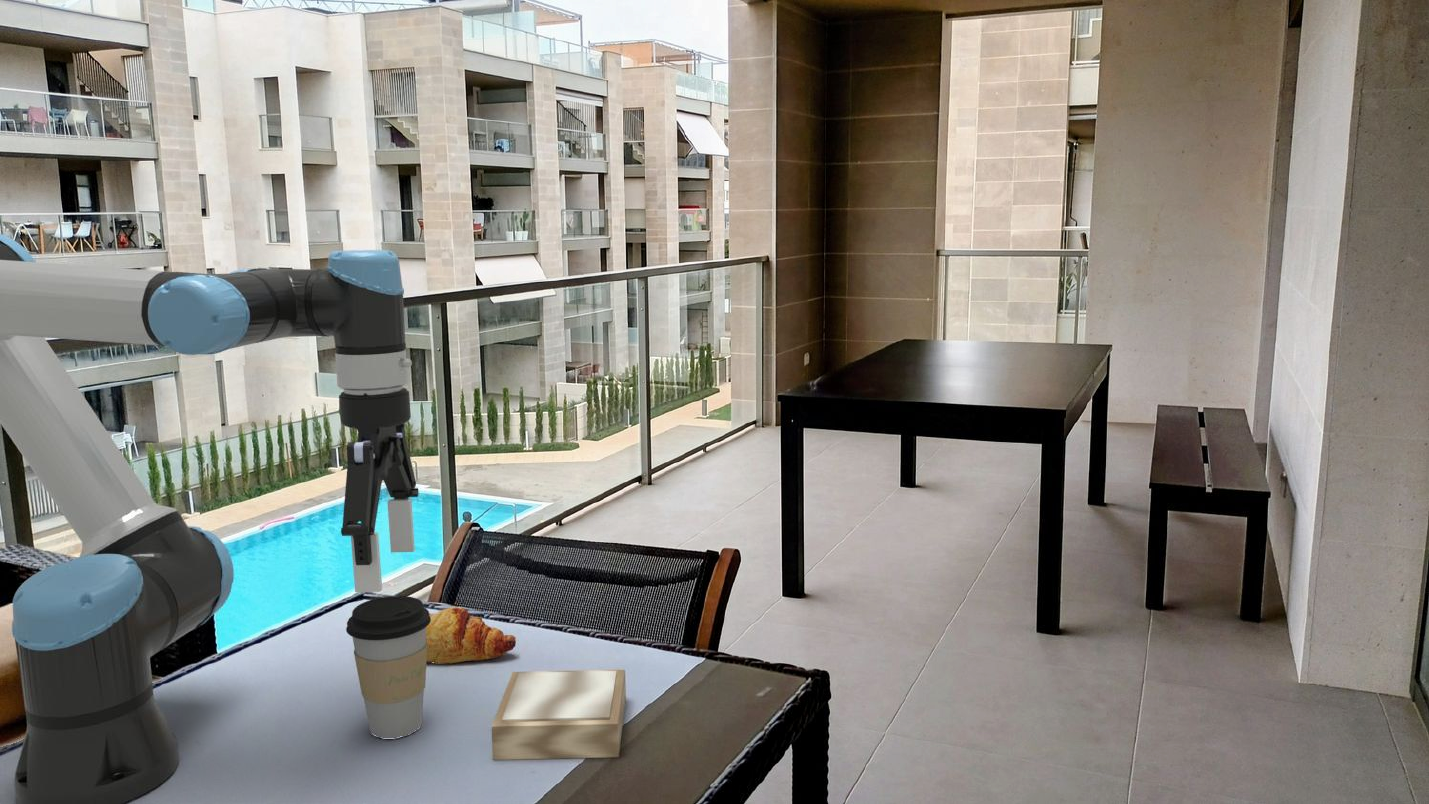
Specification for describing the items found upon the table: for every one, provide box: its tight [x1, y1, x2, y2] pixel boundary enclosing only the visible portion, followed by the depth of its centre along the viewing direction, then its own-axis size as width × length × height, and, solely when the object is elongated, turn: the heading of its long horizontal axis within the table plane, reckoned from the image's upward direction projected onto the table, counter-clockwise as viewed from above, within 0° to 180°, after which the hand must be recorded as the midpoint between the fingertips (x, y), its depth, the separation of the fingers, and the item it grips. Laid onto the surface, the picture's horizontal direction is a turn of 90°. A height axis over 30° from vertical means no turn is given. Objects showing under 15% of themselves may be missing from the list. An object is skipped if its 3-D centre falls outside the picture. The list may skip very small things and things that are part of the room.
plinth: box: [491, 669, 627, 761], centre depth 119 cm, size 14×14×4 cm
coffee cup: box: [345, 595, 431, 738], centre depth 119 cm, size 9×9×15 cm
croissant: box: [426, 606, 517, 665], centre depth 141 cm, size 21×10×8 cm, turn 78°
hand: (386, 570), depth 117 cm, fingers open, 13 cm apart
